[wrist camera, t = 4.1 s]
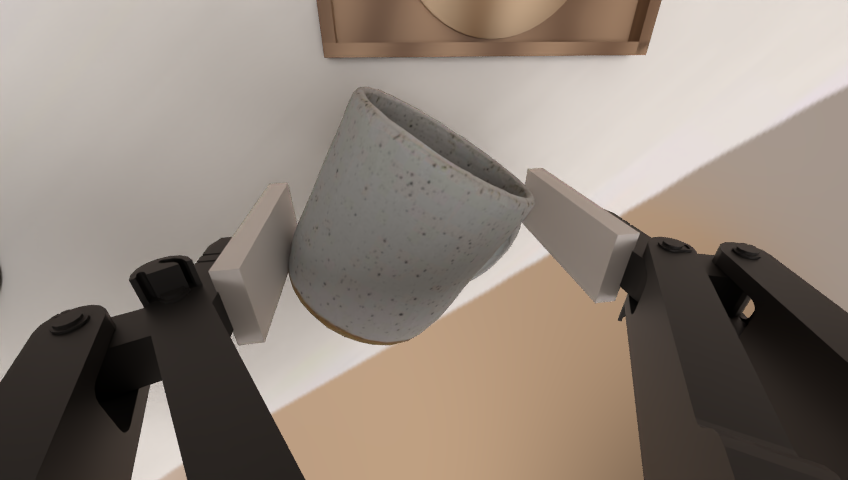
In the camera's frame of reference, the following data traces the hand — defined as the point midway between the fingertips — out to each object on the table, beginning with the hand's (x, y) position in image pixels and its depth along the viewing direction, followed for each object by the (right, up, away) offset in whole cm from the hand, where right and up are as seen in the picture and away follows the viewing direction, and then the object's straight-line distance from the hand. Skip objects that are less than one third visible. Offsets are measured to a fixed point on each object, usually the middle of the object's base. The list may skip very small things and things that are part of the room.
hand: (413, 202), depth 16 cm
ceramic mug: (0, +1, +2) cm, 2 cm away
